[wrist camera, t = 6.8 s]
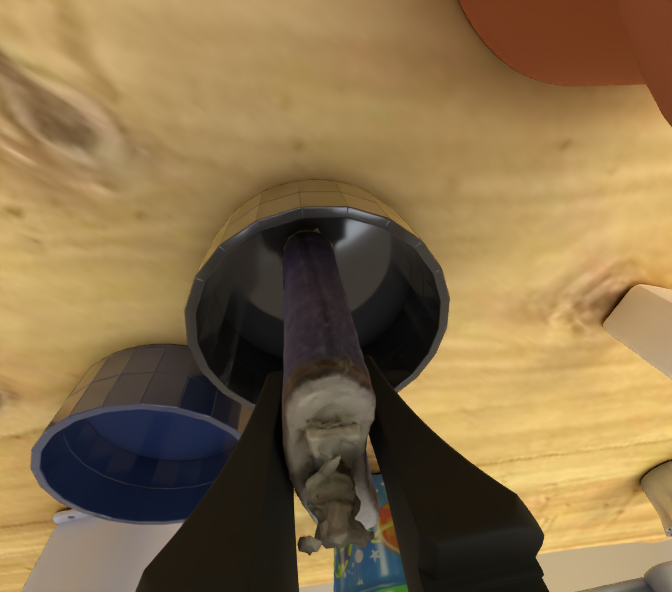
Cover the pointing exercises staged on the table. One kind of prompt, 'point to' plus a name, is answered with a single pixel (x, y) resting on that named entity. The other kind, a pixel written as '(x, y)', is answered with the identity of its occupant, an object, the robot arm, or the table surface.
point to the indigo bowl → (139, 438)
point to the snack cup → (372, 556)
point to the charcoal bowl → (355, 272)
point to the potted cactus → (582, 41)
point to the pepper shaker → (645, 325)
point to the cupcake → (660, 493)
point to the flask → (325, 399)
